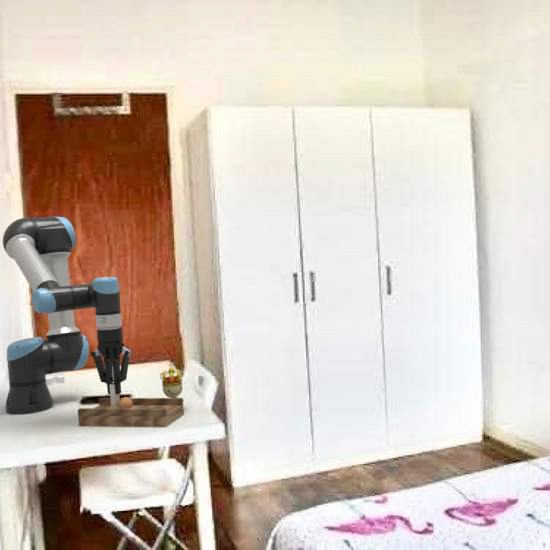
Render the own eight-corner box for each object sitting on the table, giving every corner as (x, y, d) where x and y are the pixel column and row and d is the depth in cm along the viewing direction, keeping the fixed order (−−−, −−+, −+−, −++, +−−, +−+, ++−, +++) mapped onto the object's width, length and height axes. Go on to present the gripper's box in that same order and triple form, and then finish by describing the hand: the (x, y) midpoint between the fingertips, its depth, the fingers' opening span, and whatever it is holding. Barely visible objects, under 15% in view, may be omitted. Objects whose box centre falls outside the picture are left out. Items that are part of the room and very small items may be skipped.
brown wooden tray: (78, 425, 206) (77, 409, 206) (101, 413, 220) (100, 398, 220) (165, 426, 200) (164, 409, 199) (183, 413, 213) (182, 397, 213)
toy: (166, 414, 214) (163, 366, 213) (159, 409, 221) (156, 363, 220) (188, 410, 217) (185, 363, 217) (180, 405, 224) (177, 360, 223)
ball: (123, 396, 207) (130, 408, 207) (130, 393, 211) (137, 404, 211) (114, 402, 209) (120, 414, 208) (121, 399, 212) (127, 410, 212)
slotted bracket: (65, 383, 274) (63, 364, 274) (46, 386, 271) (45, 366, 271) (60, 378, 286) (59, 359, 286) (43, 380, 283) (41, 361, 283)
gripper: (83, 330, 207) (90, 408, 209) (123, 329, 204) (129, 407, 205) (96, 327, 215) (102, 401, 216) (134, 325, 211) (140, 401, 213)
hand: (115, 404), depth 211 cm, fingers closed
